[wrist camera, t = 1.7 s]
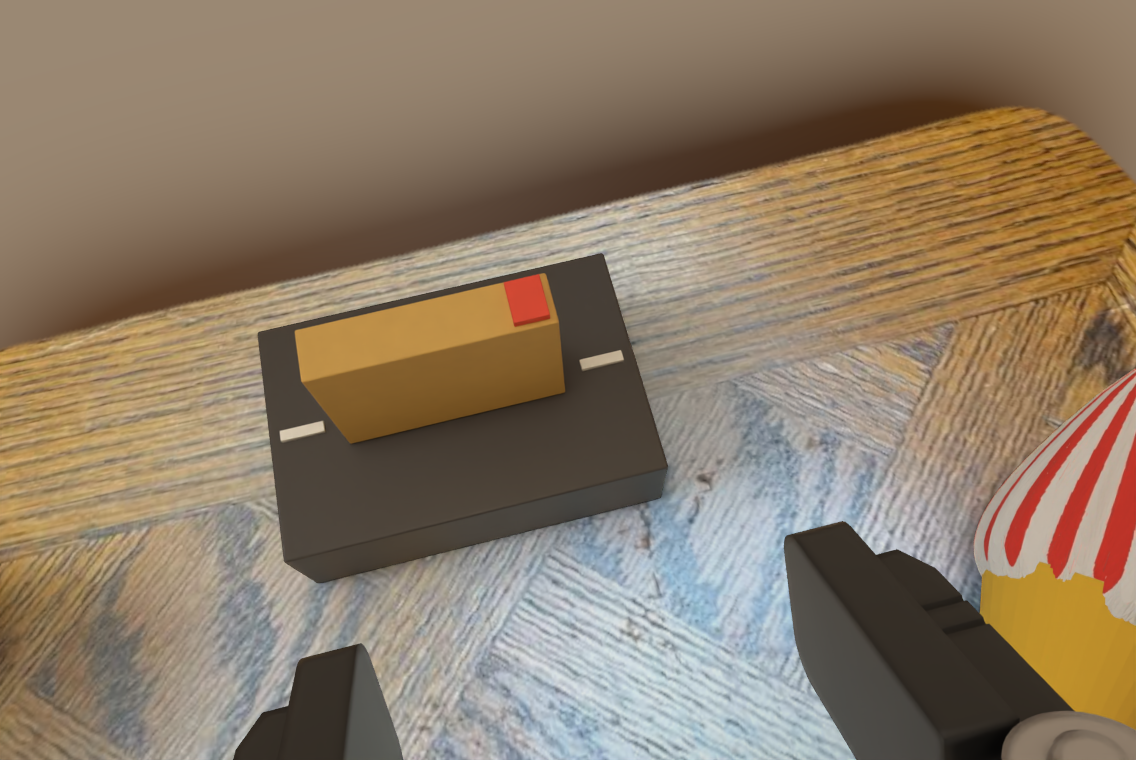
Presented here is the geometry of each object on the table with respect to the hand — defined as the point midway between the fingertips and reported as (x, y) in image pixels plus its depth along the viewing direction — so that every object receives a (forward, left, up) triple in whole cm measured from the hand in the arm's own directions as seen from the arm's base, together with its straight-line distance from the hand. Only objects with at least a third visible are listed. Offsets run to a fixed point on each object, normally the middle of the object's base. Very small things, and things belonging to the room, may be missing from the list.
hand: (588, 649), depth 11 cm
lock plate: (-9, +5, -18) cm, 21 cm away
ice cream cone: (+10, +9, -18) cm, 23 cm away
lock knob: (-9, +5, -15) cm, 18 cm away
